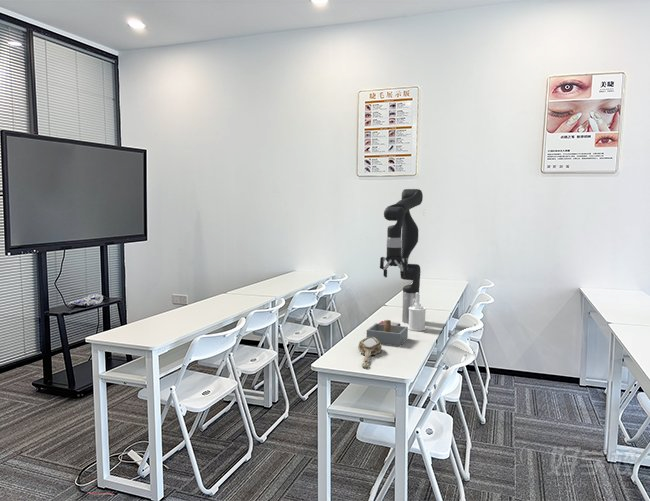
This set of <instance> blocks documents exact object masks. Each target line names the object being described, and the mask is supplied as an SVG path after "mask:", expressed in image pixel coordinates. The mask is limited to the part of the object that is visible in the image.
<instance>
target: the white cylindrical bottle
mask: <svg viewBox="0 0 650 501" xmlns="http://www.w3.org/2000/svg"><path fill="white" fill-rule="evenodd" d="M414 299H415V298H414ZM414 299H413V302H414ZM413 302H412V306H411V307H409V323H408V326H407V327H408V330H410V331H413V332H423V331H425V330H426V310H427V308H426V307H424V306H422V305H421V303H420V292H419V293H418V292H416V300H415V302H416V303H415V302H414V304H415V306H414V305H413Z"/></svg>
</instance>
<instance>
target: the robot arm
mask: <svg viewBox="0 0 650 501" xmlns="http://www.w3.org/2000/svg"><path fill="white" fill-rule="evenodd" d="M423 196H424V195H423V192H422V190H421V189H419V188H406V189H403V190H402V192H401V199H400V200H398V201H397V202H396V203H394V204H391V205H389V206H387V207H386V208H385V209H384V210H383V217H384V219H386V221H389V222H390V221H391V222H396V223H395V224H393V225H389V226H387V234H386V235H387V237H386V238H387V239H386V257H384V256H381V257H380V262H379V269H380V270H381V269H382V270H383V277H384V278H388V268H389V267H397V268H399V269H400V270H399V272H400V274H399V275H400V279H402V280H403V281H404V280H406V281H412V283H411V284H407V285H404V286H403V287H402V323H404V324H405V323H406V324H409V307H411V306H412V302H413V299H414V298H415V299H414V302H415V300H416V292H418V293H419V294H420V284H421V266H420V265H419V264H416V263H409V258H410V255H411V253H412V252H413V251H414V248H416V246H417V244H418V242H419V228H418V225H417V223H416V221H415V220H414V219H413V217H412V215H411V212H410V210H411V209H413V208H416V207H418V206H420V205H422V203H423V198H424V197H423ZM385 262H387V263H386V264H385ZM384 265H385V266H384ZM414 302H413V305H414V306H415V304H414ZM415 303H416V302H415Z"/></svg>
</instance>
